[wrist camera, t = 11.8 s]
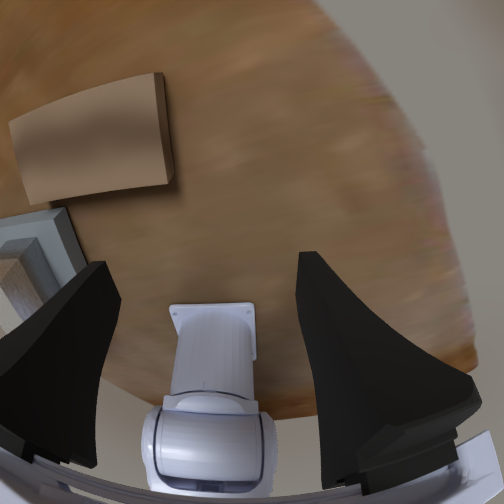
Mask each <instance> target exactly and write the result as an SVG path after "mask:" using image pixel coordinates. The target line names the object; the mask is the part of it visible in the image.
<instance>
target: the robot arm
mask: <svg viewBox="0 0 504 504" xmlns="http://www.w3.org/2000/svg"><path fill="white" fill-rule="evenodd" d="M295 295H296V303H297V310H298V317H299V322H300V326H301V330H302V334H303V338H304V342H305V346H306V349H307V353H308V357H309V361H310V365H311V369H312V374H313V379H314V386H315V394H316V403H317V412H318V422H319V435H320V449H321V450H320V451H321V481H322V489H323V490H325V489H330V488H335V487H340V486H345V487H342V488H337V489H332V490H327V491H320V492H314V493H307V494H300V495H291V496H280V497H270V493H271V492H272V490H273V477H274V474H275V471H276V467H277V453H278V450H277V434H276V428H275V423H274V421H273V419H272V418H271V417H270V416H269V415H268V414H267V412H258V401H254V383H253V361H254V360H256V335H255V311H254V304H253V303H249V302H247V303H222V304H178V305H171V306H170V308H169V311H170V314H171V317H172V320H173V323H174V325H175V328H176V331H177V334H178V336H179V338H178V344H177V350H176V356H175V363H174V369H173V376H172V383H171V390H170V396H168V395H165V396H164V401H163V406H160V405H156V406H155V407H154V408H153V409H152V410H151V411H150V412H149V413H148V414H147V416H146V419H145V421H144V425H143V430H142V441H141V443H142V444H141V446H142V447H141V448H142V457H143V461H144V464H145V466H146V471H147V480H148V484H149V486H150V490H144V489H140V488H135V487H130V486H126V485H122V484H117V483H114V482H110V481H106V480H103V479H99V478H96V477H93V476H90V475H86V474H83V473H80V472H77V471H75V470H72V469H69V468H66V467H64V466H61V465H60V461H61V462H63V463H67V464H69V463H70V462H72V463H75V464H78V465H81V466H84V467H87V468H90V469H92V468H94V467H95V466H97V458H96V457H97V456H96V442H95V419H96V405H97V396H98V388H99V382H100V376H101V372H102V368H103V365H104V361H105V358H106V355H107V352H108V349H109V345H110V342H111V339H112V336H113V333H114V330H115V327H116V324H117V320H118V315H119V310H120V305H121V300H122V299H121V297H120V295H119V293H118V290H117V288H116V286H115V283H114V281H113V279H112V276H111V274H110V271H109V269H108V266H107V264H106V261H93V262H91V263H90V264H88V265H87V266H86V267H85V268H83V269H82V270H81V271H80V272H79V273H78V274H76V275H75V276H74V277H73V278H72V279H71V280H70V281H69V282H68V283H67V284H65V285H64V286H63V287H62V288H61V289H60V290H59V291H58V292H57V293H56V294H55V295H54V296H53V297H51V298H50V299H49V300H48V301H47V302H46V303H45V304H44V305H43V306H41V307H40V308H39V309H38V310H37V311H36V312H35V313H34V314H33V315H31V316H30V317H29V318H28V319H27V320H25V321H24V322H23V323H22V324H20V325H19V326H18V327H16V328H15V329H14V330H12V331H11V332H10V333H8V334H7V335H5V336H4V337H3V338H1V339H0V504H107V503H105V502H102V501H98V500H95V499H92V498H88V497H86V496H82V495H79V494H76V493H73V492H71V490H70V488H69V486H68V485H70V486H72V487H75V488H77V489H80V490H83V491H85V492H88V493H91V494H94V495H97V496H101V497H104V498H107V499H111V500H114V501H118V502H122V503H125V504H484V503H486V502H487V501H488V500H490V499H491V498H492V497H494V496H495V495H496V494H498V493H499V492H500V491H501V490H503V488H504V485H503V479H502V475H501V471H500V467H499V463H498V459H497V455H496V452H495V448H494V445H493V442H492V438H491V435H490V432H489V430H487V429H486V430H484V431H483V432H481V433H479V434H478V435H476V436H474V437H472V438H470V439H468V440H466V441H465V442H463V443H461V444H459V445H457V446H456V447H455V444H454V439H456V438H457V436H458V435H457V431H456V427H457V426H458V425H460V424H461V423H463V422H464V421H465V420H466V419H468V418H469V417H470V416H472V415H473V414H474V413H475V412H476V411H477V410H478V409H479V408H480V406H481V404H482V400H481V397H480V395H479V392H478V390H477V388H476V386H475V383H474V381H473V379H472V377H471V376H470V375H468V374H466V373H464V372H461V371H459V370H457V369H455V368H453V367H451V366H449V365H447V364H445V363H444V362H442V361H440V360H438V359H437V358H435V357H433V356H432V355H430V354H428V353H427V352H425V351H424V350H422V349H421V348H419V347H417V346H416V345H414V344H413V343H412V342H410V341H409V340H407V339H406V338H405V337H403V336H402V335H400V334H399V333H398V332H396V331H395V330H394V329H393V328H391V327H390V326H389V325H388V324H387V323H385V322H384V321H383V320H382V319H381V318H379V317H378V316H377V315H376V314H375V313H374V312H372V311H371V310H370V309H369V308H368V307H367V306H366V305H365V304H364V303H363V302H362V301H361V300H360V299H359V298H358V297H357V296H356V295H355V294H354V293H353V292H352V291H351V290H350V289H349V288H348V286H347V285H346V284H345V283H344V282H343V281H342V280H341V279H340V278H339V277H338V276H337V274H336V273H335V272H334V271H333V270H332V269H331V267H330V266H329V265H328V264H327V263H326V262H325V260H324V259H323V258H322V257H321V256H320V255H319V254H318V253H317V252H316V251H310V252H299V260H298V272H297V283H296V294H295Z"/></svg>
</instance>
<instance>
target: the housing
mask: <svg viewBox="0 0 504 504" xmlns="http://www.w3.org/2000/svg"><path fill="white" fill-rule="evenodd" d="M60 289H61V287H60V285H59V283H58V281H57V279H56V277H55V275H54V273H53V271H52V269H51V267H50V265H49V263H48V261H47V259H46V257H45V255H44V252H43V250H42V248H41V246H40V243H39V241H38V239H37V237H29V238H21V239H13V240H7V241H6V242H5V243H4V244H3V245H2V247H1V248H0V326H1V327H2V329H3V330H4V331H5V333H6V334H8V333H10V332H11V331H12V330H14V329H15V328H16V327H18V326H19V325H20V324H22V323H23V322H24V321H25V320H27V319H28V318H29V317H30V316H31V315H33V314H34V313H35V312H36V311H37V310H38V309H39V308H40V307H41V306H43V305H44V304H45V303H46V302H47V301H48V300H49V299H50V298H51V297H53V296H54V295H55V294H56V293H57V292H58V291H59V290H60Z"/></svg>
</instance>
